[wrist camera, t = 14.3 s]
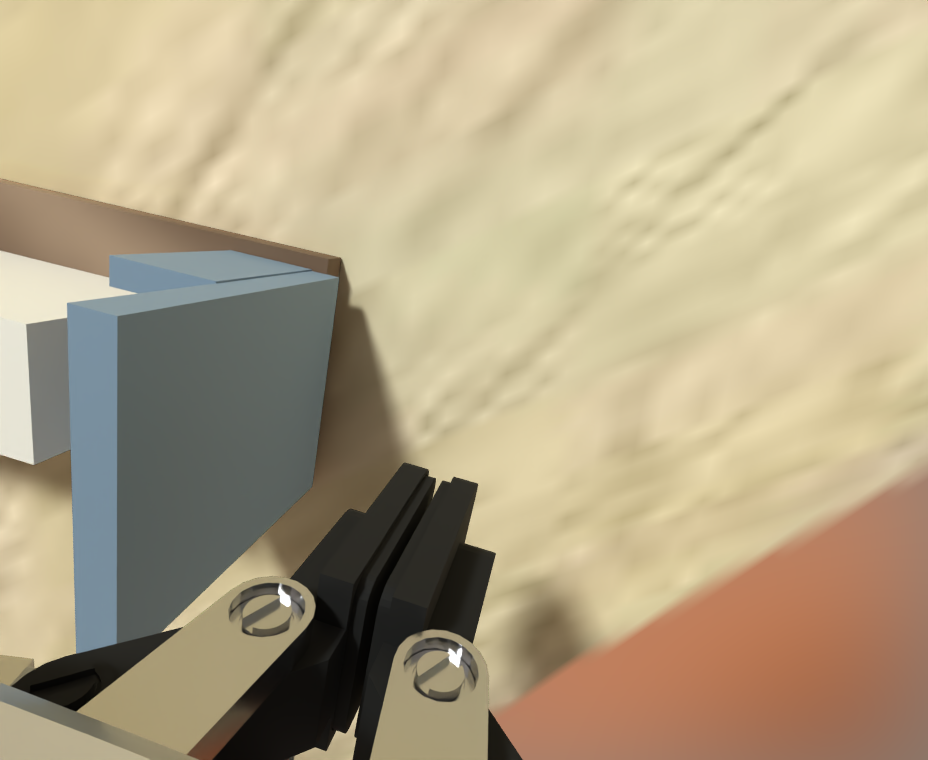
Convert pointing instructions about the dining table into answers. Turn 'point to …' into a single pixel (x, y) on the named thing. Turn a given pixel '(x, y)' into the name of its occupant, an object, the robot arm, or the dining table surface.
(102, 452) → the sliding end cap
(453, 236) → the dining table surface
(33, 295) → the slat
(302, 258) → the endcap rack
